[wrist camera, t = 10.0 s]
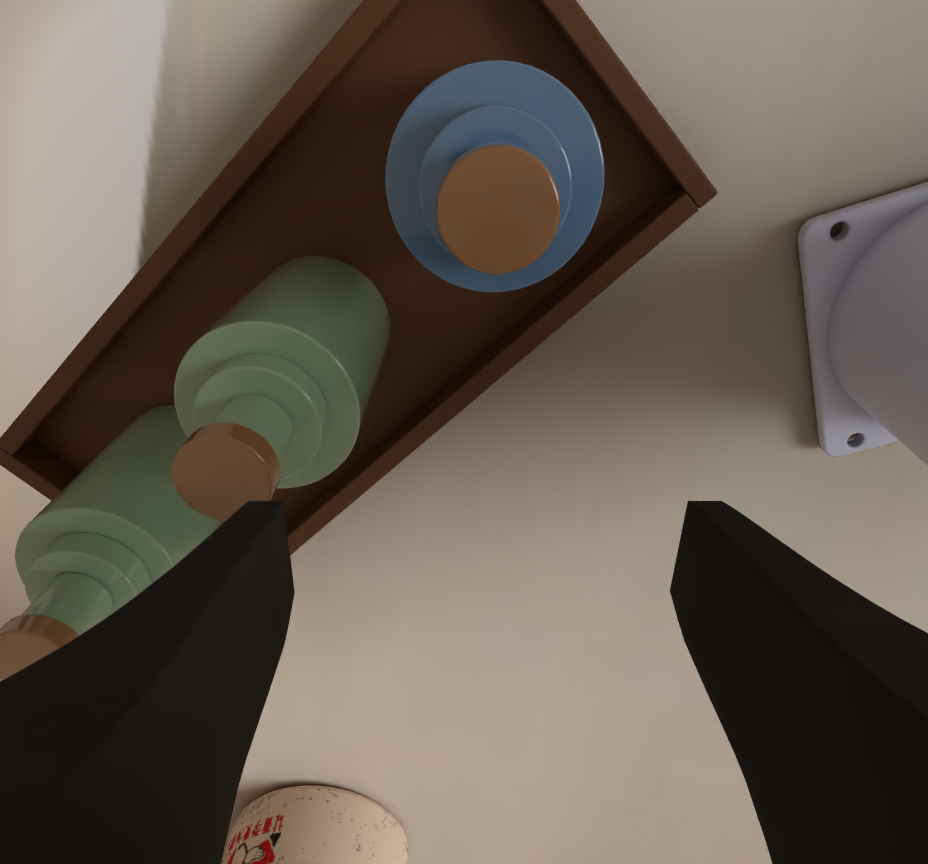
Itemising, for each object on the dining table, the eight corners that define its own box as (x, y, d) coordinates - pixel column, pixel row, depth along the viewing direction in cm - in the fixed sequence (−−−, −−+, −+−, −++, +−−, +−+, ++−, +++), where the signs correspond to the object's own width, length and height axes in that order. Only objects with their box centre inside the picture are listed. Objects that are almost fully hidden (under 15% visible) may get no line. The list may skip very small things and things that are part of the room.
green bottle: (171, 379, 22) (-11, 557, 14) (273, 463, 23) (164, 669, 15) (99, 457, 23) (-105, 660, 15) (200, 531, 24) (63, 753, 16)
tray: (476, -115, 16) (476, -136, 14) (699, 183, 19) (719, 193, 17) (19, 429, 23) (-15, 455, 22) (233, 584, 26) (217, 617, 25)
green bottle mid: (314, 224, 19) (196, 328, 11) (419, 328, 21) (381, 486, 13) (224, 321, 21) (63, 475, 13) (328, 412, 22) (241, 603, 14)
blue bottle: (495, 25, 17) (509, -22, 9) (600, 157, 18) (694, 219, 10) (380, 150, 18) (302, 206, 10) (485, 264, 20) (489, 391, 12)
